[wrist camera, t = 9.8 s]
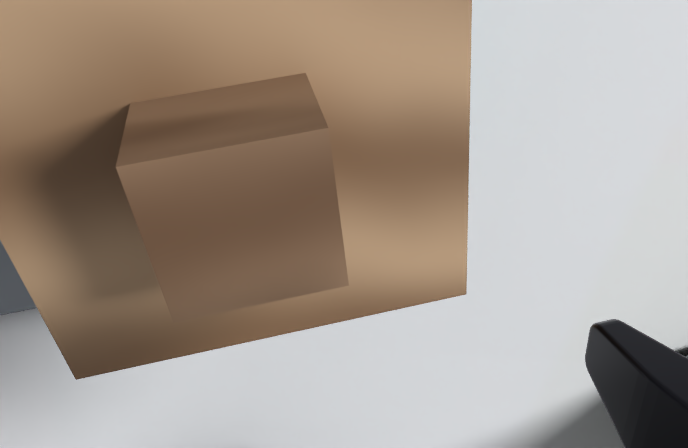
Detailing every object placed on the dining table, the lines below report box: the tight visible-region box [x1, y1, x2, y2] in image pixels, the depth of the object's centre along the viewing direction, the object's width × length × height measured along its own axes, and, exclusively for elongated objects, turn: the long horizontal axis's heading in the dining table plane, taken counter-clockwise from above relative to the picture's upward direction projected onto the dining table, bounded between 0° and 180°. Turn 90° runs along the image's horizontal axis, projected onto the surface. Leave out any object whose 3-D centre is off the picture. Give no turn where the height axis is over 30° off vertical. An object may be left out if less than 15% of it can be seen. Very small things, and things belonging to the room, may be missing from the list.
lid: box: [0, 0, 472, 379], centre depth 14 cm, size 12×12×4 cm
